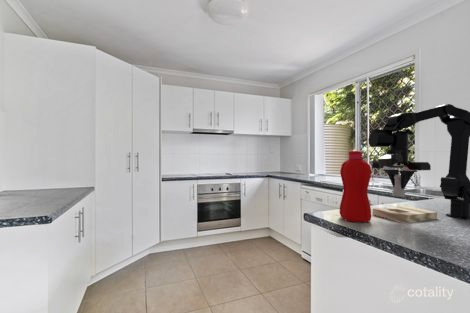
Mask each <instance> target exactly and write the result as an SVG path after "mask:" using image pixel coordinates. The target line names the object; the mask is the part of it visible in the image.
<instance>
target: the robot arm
mask: <svg viewBox="0 0 470 313" xmlns="http://www.w3.org/2000/svg"><path fill="white" fill-rule="evenodd" d="M434 118H439V120H440V122H441V123H442V124H444V125H446V130H447V133H448V135H450V137H451V140H450V141H451V142H450V150H449V151H450V152H449V162H448V164H449V166H448V173H447V174H446V176H445V177H444V176H441V178H440V185H439V188H440V190H441V193H442V194H443V197H444V199H445V200H450V205H449V206H450V208H449V210H450V212H449V213H446V214H445V216H448V217H453V218H458V219H463V220H470V178H469V177H468V175H467V168H468V155H469V145H470V144H469V143H470V142H469V141H470V111H469V110H466V109H463V108H460V107H456V106H454V105H453V104H450V103H446V104H441V105H437V106H436V107H431V108H428V109H424V110H420V111H417V112H413V111H412V112H401V113H398V114H397V113H396V114H394V115H390V116H388V118H387V121H386V123H385V125H383V127H382V129H379V128H374V129H372V130H371V133H370V134H369V136H368V137H369V138H368V139H367V140H368V145H369V146H370V147H372V148H388V147H389V149H387V151H386V154H384V155H382V156H380V157H378V158H377V161H375V160H374V161H373V162H372V164H371V166H372V167H371V168H372V169H381V170H382V171H383V172H385V173H386V174H387V176H388V178H389V180H390V183H391V185H392V187H393V188H394V186H395V178H394V176H395V175H401V188H402V189H404V190H405V188H406V186H407V185H408V183H409V181H410V180H411V178H412V177H413V175H414V174H415V173H418V171H431V164H430V163H429V162H428V161H411V160H409V153H411V150H412V149H409V136H413V135H415V133H414V131H412V130H410V127H412V126H414V125H415V126H416V124H417V123H419V122H423V121H426V120H431V119H434ZM396 168H397V169H396ZM400 169H402V170H400Z"/></svg>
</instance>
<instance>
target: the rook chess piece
mask: <svg viewBox="0 0 470 313" xmlns="http://www.w3.org/2000/svg"><path fill="white" fill-rule="evenodd" d="M394 178H395V186H394V187H393V189H392V191H391V192H392V193H391V195H392V196H394V197H399V198H400V197H401V198H403V197H406V196H407V195H406V193H407V192H406V191H405V188H404V189H402V188H401V174H398V175H395V176H394Z"/></svg>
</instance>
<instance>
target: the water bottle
mask: <svg viewBox="0 0 470 313" xmlns="http://www.w3.org/2000/svg"><path fill="white" fill-rule="evenodd" d="M371 168H372V167H371V165H370V164H369V163H368V162H367V161H365V160H364V156H363V152H362V151H359V150H351V151H349V152H348V159H347V160H345V161H344V162H343V163H342V164H341V166H340V171H339V174H340V178H341V182H342V187H343V189H342V190H343V192H342V197H341V201H340V205H339V215H340V218H342V219H344V220H345V221H347V222H351V223H368V222H370V221H371V219H372V208H371V203H370V200H369V195H368V191H369V190H368V188H371V187H374V184H372V185H371V186H370V181H371V178H372V180H374V176H373V172H372V169H371Z"/></svg>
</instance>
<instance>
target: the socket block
mask: <svg viewBox="0 0 470 313" xmlns="http://www.w3.org/2000/svg"><path fill="white" fill-rule="evenodd" d="M372 215H373V216H375V215H376V216H375V217H379V216H380V217H379V218H382V217H384V218H383V219H386V218H387V220H390V219H391V221H394V220H395V221H394V222H397V221H398V222H399V223H403V224H404V223H413V222H422V221H429V220H430V221H431V220H437V219H438V211H433V210H429V209H424V208H418V207H413V206H407V205H398V206H397V205H395V206H389V207H388V206H386V207H376V208H372V210H371V216H372Z"/></svg>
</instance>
